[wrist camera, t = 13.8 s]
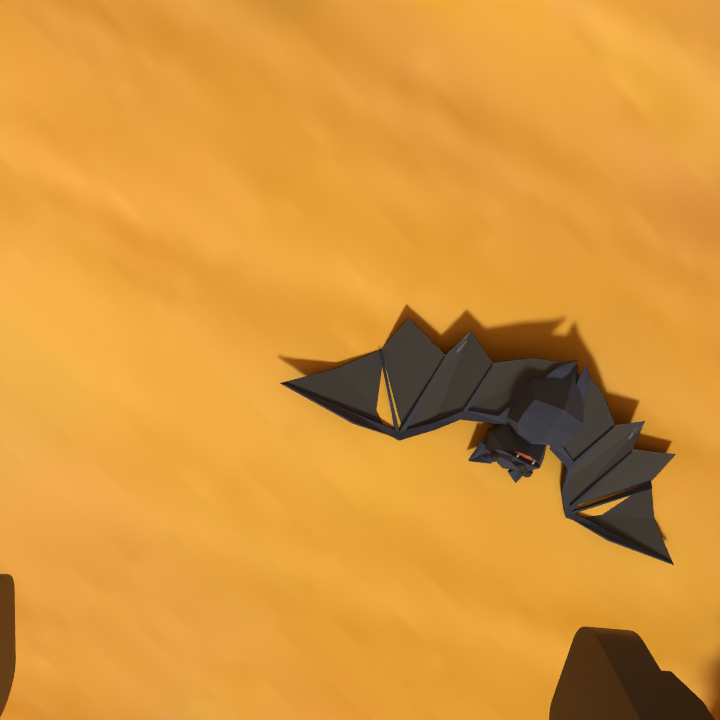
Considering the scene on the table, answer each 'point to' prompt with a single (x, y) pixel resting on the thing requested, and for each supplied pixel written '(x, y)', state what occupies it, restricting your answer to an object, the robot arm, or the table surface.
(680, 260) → the table surface
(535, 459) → the decorative bat
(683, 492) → the table surface
